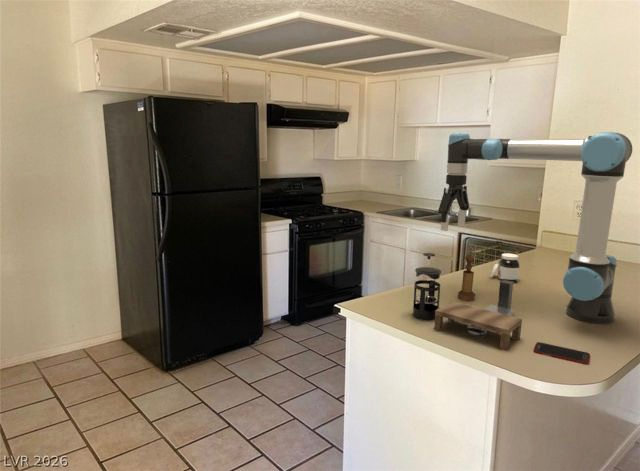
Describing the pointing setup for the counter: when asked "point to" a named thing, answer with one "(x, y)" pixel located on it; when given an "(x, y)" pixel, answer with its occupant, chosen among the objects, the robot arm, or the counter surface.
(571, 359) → the cell phone
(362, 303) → the counter surface
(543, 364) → the counter surface
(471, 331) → the steel token
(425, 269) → the french press
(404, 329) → the counter surface
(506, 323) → the low bench
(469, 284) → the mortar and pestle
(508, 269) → the spread jar
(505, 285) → the scraper
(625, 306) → the counter surface
